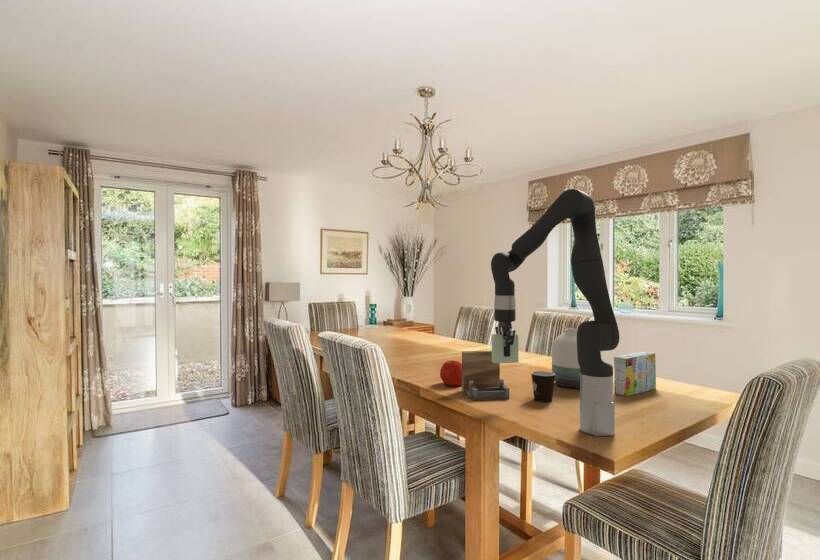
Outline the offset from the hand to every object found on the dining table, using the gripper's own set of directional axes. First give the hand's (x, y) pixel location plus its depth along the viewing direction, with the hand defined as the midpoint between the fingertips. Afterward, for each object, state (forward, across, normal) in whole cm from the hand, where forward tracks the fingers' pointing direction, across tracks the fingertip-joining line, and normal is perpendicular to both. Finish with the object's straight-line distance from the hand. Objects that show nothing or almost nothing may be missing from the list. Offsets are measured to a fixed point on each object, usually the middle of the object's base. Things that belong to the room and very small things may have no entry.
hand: (505, 355), depth 159 cm
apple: (+18, +32, +11) cm, 39 cm away
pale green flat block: (+2, 0, 0) cm, 2 cm away
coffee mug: (+18, +5, -17) cm, 25 cm away
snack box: (+18, +9, -59) cm, 63 cm away
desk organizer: (+18, +15, +2) cm, 23 cm away
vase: (+18, +22, -39) cm, 48 cm away
